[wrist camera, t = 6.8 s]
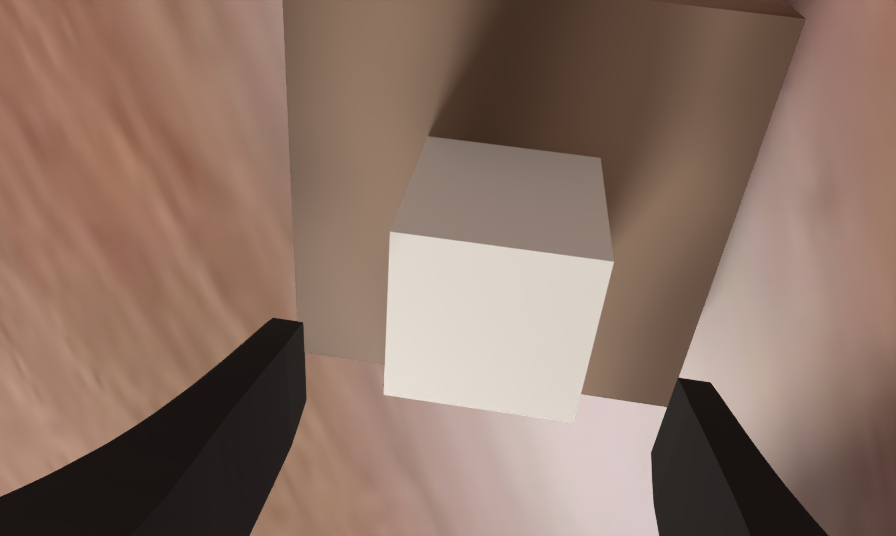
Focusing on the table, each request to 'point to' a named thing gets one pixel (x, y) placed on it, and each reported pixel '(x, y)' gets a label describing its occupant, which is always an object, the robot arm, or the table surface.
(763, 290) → the table surface
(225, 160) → the table surface
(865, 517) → the table surface
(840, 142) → the table surface
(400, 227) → the cream block
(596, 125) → the walnut block
